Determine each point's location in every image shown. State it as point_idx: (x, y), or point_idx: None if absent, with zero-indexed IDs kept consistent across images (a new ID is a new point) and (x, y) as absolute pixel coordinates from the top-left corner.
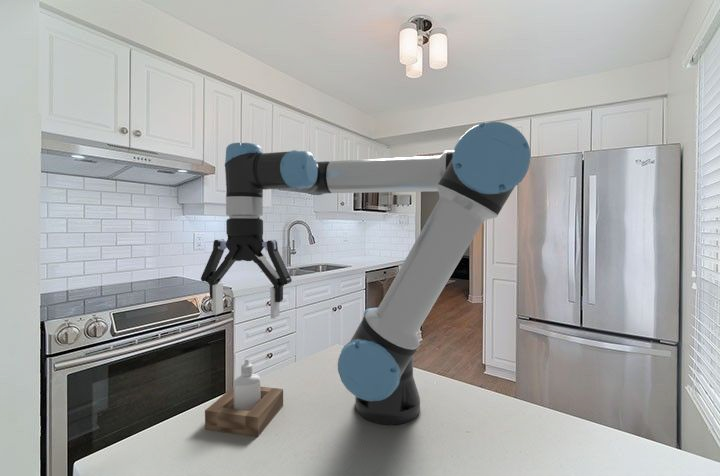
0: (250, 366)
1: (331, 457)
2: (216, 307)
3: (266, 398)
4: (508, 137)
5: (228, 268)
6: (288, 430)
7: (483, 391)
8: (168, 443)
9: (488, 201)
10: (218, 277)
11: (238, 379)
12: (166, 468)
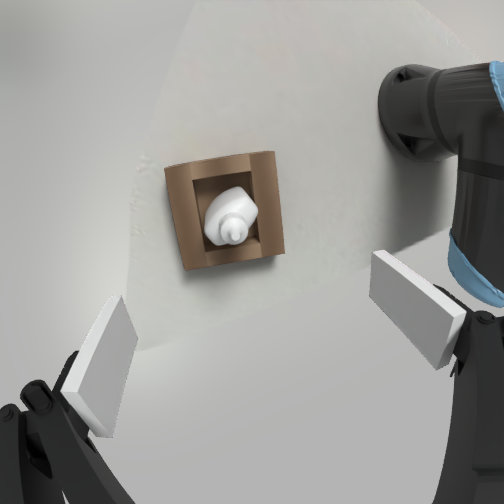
0: (247, 233)
1: (380, 241)
2: (130, 354)
3: (263, 196)
4: None
5: (120, 502)
6: (311, 212)
7: None
8: (167, 298)
9: None
10: (102, 464)
11: (223, 242)
12: (208, 327)
